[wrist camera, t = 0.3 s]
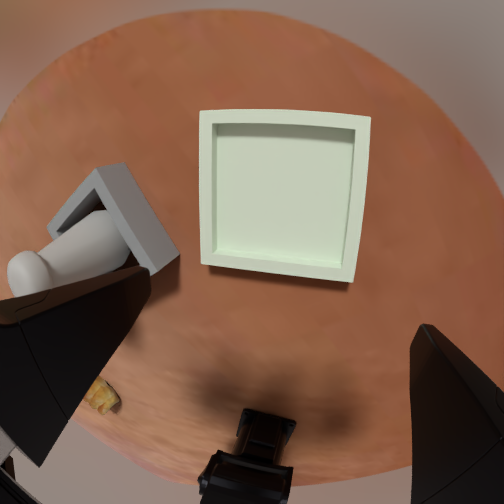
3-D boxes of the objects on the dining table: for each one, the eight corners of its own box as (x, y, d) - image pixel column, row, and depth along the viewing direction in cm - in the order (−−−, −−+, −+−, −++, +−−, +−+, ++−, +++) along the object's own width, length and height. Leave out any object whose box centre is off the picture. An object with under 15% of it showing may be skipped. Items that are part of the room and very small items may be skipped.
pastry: (71, 369, 41) (58, 381, 37) (79, 352, 38) (64, 366, 34) (112, 407, 41) (101, 421, 38) (125, 394, 38) (112, 410, 35)
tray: (351, 272, 23) (352, 282, 22) (209, 255, 26) (201, 263, 24) (367, 119, 19) (370, 117, 17) (209, 112, 22) (199, 110, 20)
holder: (180, 253, 27) (157, 271, 23) (118, 292, 30) (96, 310, 27) (124, 162, 25) (95, 167, 21) (72, 216, 29) (46, 227, 25)
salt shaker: (141, 267, 28) (48, 337, 17) (99, 252, 29) (7, 308, 18) (143, 210, 26) (32, 262, 14) (98, 199, 27) (-8, 240, 15)
